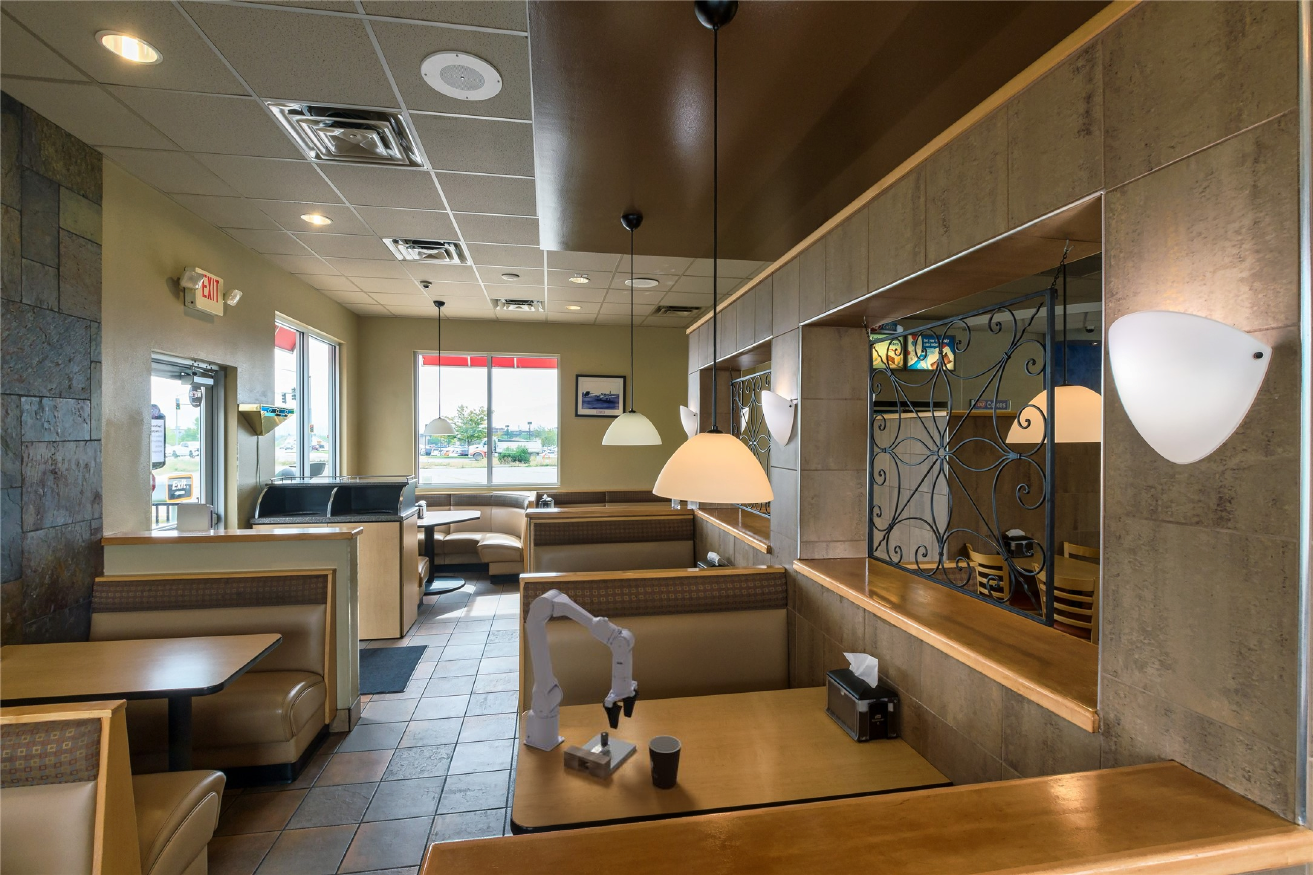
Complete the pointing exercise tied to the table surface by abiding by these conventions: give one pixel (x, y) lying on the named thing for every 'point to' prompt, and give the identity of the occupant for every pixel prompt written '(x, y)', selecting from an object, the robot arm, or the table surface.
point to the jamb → (587, 762)
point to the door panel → (613, 749)
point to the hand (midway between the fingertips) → (620, 722)
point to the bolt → (602, 744)
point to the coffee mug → (664, 761)
